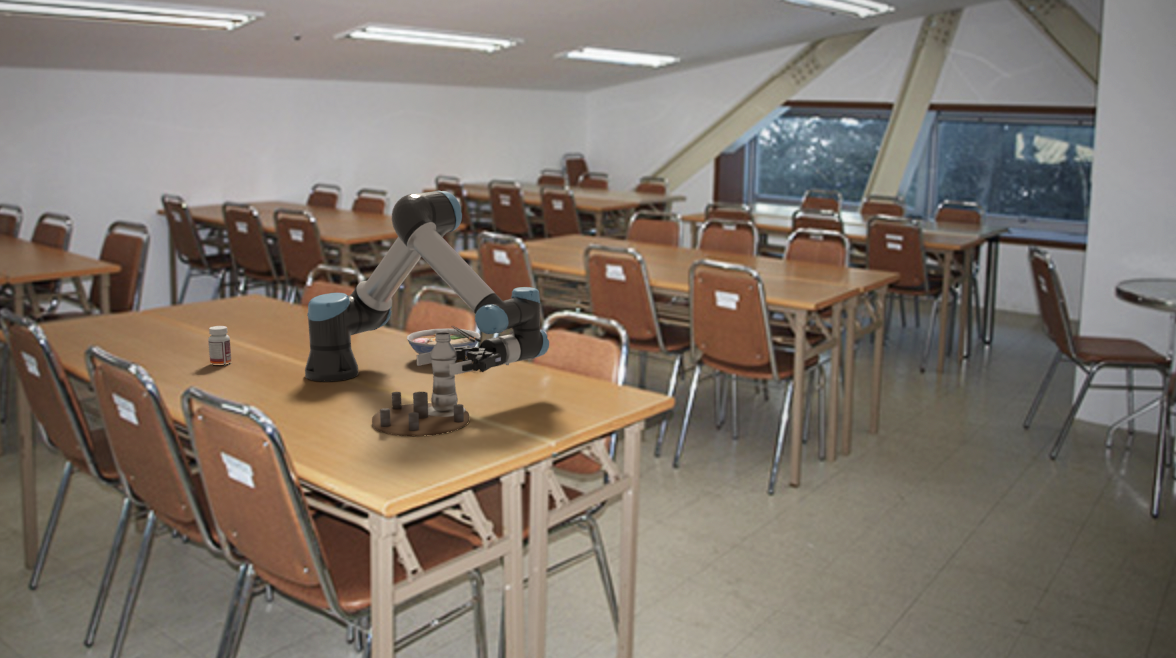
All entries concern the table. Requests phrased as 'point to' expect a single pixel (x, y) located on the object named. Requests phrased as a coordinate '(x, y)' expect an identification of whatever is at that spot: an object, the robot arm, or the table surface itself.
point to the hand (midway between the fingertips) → (433, 365)
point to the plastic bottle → (443, 373)
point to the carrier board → (423, 423)
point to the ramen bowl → (426, 342)
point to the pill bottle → (219, 345)
